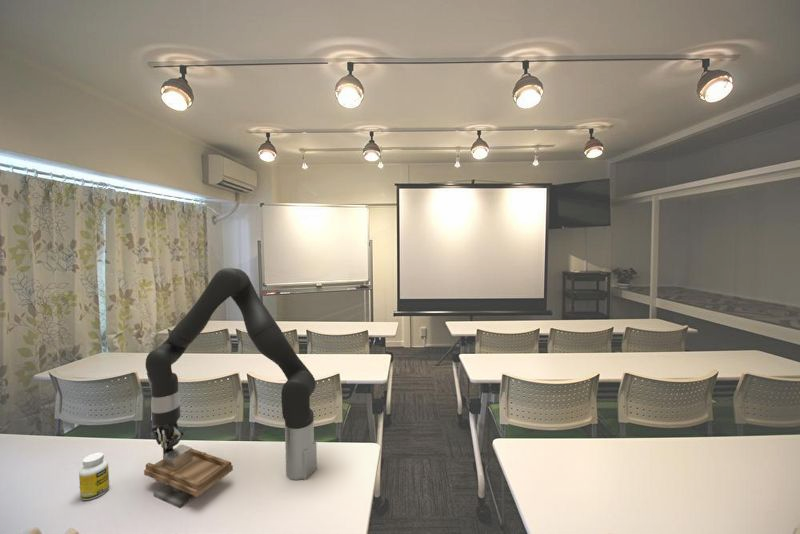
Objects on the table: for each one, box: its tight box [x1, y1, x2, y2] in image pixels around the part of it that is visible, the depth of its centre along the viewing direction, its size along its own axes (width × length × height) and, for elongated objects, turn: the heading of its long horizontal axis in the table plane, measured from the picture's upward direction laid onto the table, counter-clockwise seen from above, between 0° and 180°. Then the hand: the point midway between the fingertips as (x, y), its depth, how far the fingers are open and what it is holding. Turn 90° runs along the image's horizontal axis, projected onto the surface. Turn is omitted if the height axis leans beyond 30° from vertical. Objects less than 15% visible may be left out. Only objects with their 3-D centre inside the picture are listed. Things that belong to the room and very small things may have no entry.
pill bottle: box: [78, 452, 110, 501], centre depth 99 cm, size 6×6×12 cm
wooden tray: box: [143, 444, 234, 509], centre depth 102 cm, size 24×14×8 cm, turn 68°
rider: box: [162, 444, 193, 471], centre depth 104 cm, size 5×6×4 cm
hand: (168, 457), depth 106 cm, fingers closed
